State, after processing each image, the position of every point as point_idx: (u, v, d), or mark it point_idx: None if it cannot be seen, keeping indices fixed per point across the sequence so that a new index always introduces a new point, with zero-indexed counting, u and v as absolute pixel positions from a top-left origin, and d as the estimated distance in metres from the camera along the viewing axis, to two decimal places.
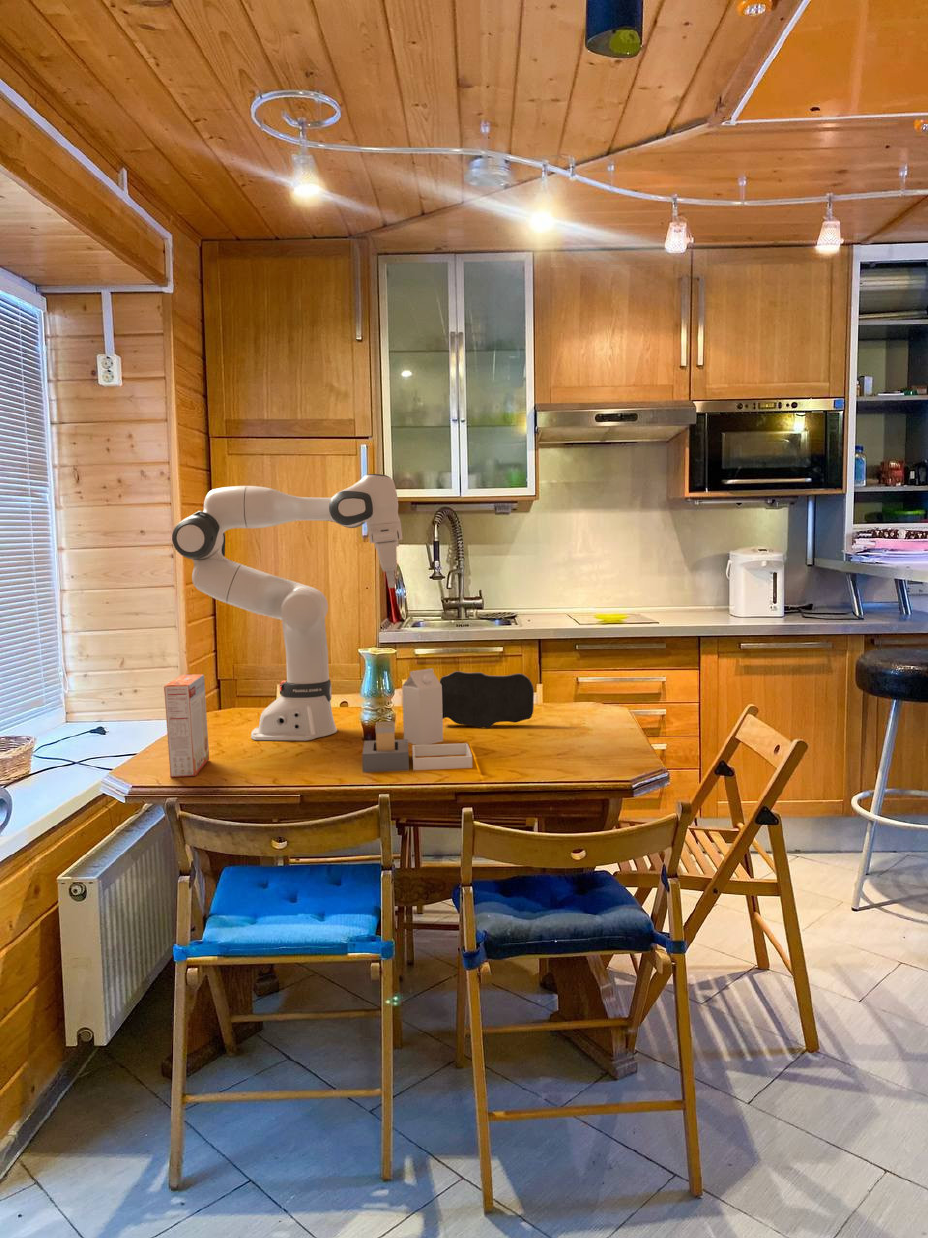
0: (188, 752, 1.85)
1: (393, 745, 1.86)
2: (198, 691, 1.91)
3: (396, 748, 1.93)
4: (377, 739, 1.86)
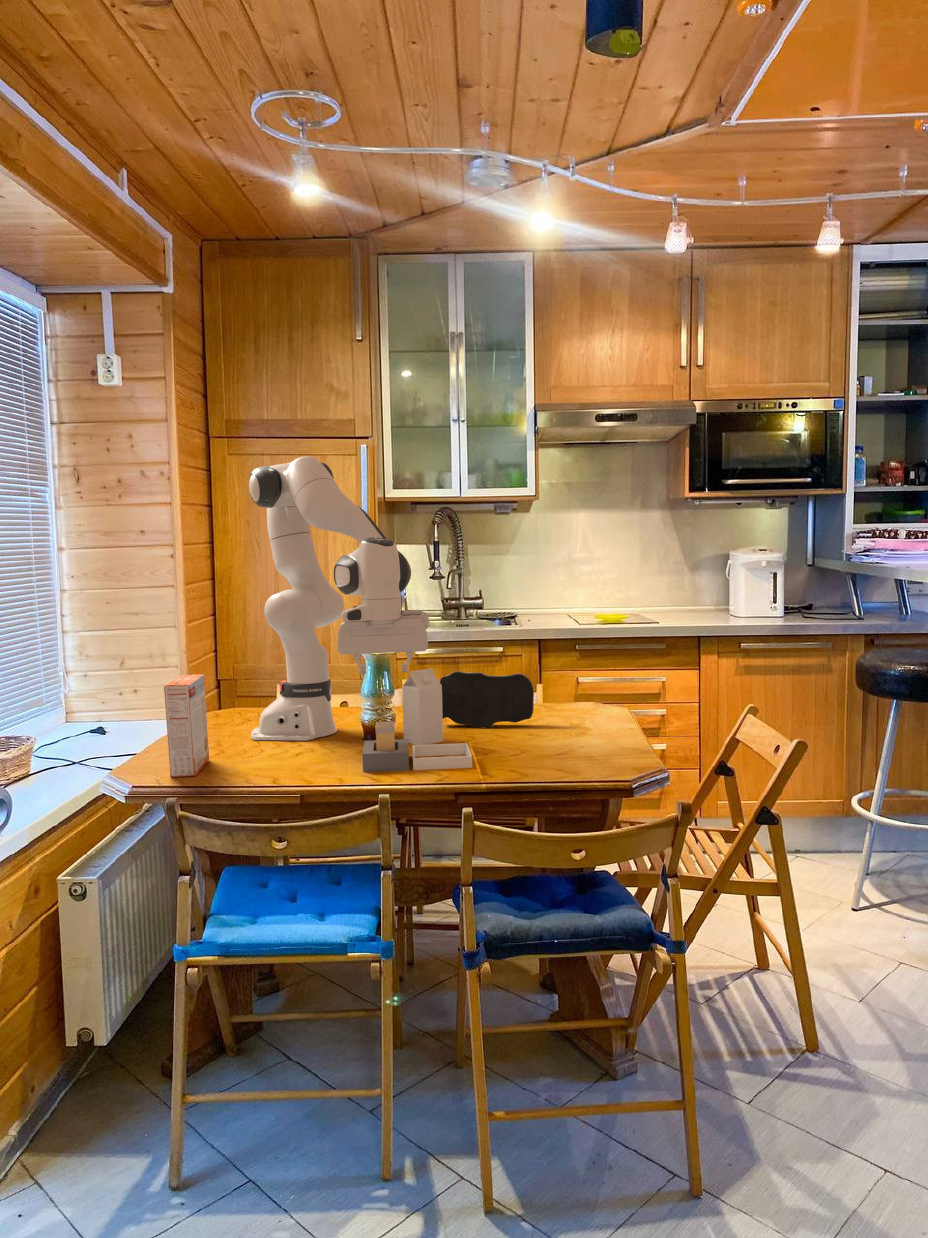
0: (188, 752, 1.85)
1: (393, 745, 1.86)
2: (198, 691, 1.91)
3: (396, 748, 1.93)
4: (377, 739, 1.86)
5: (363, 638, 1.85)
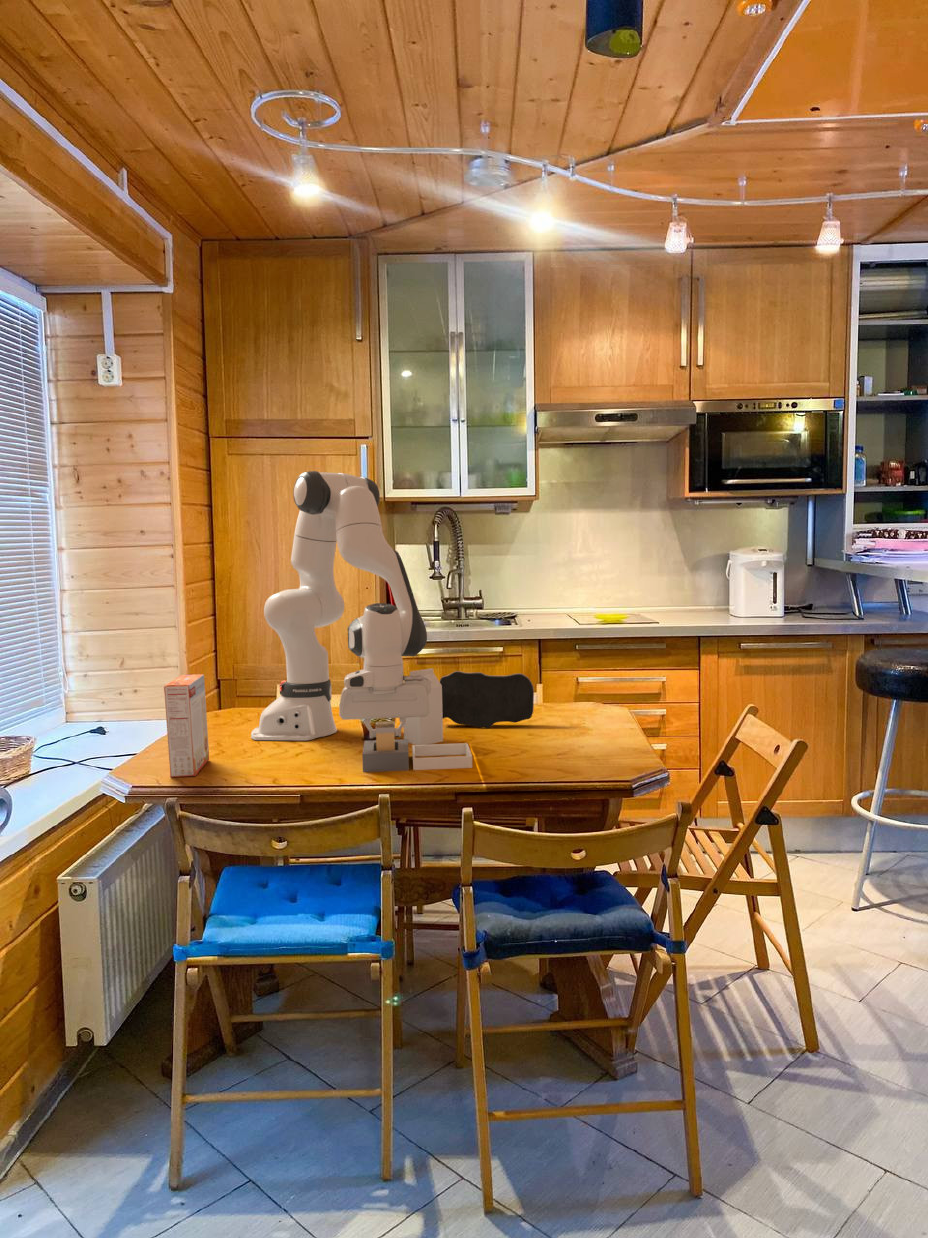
0: (188, 752, 1.85)
1: (393, 745, 1.86)
2: (198, 691, 1.91)
3: (396, 748, 1.93)
4: (377, 739, 1.86)
5: (365, 704, 1.86)
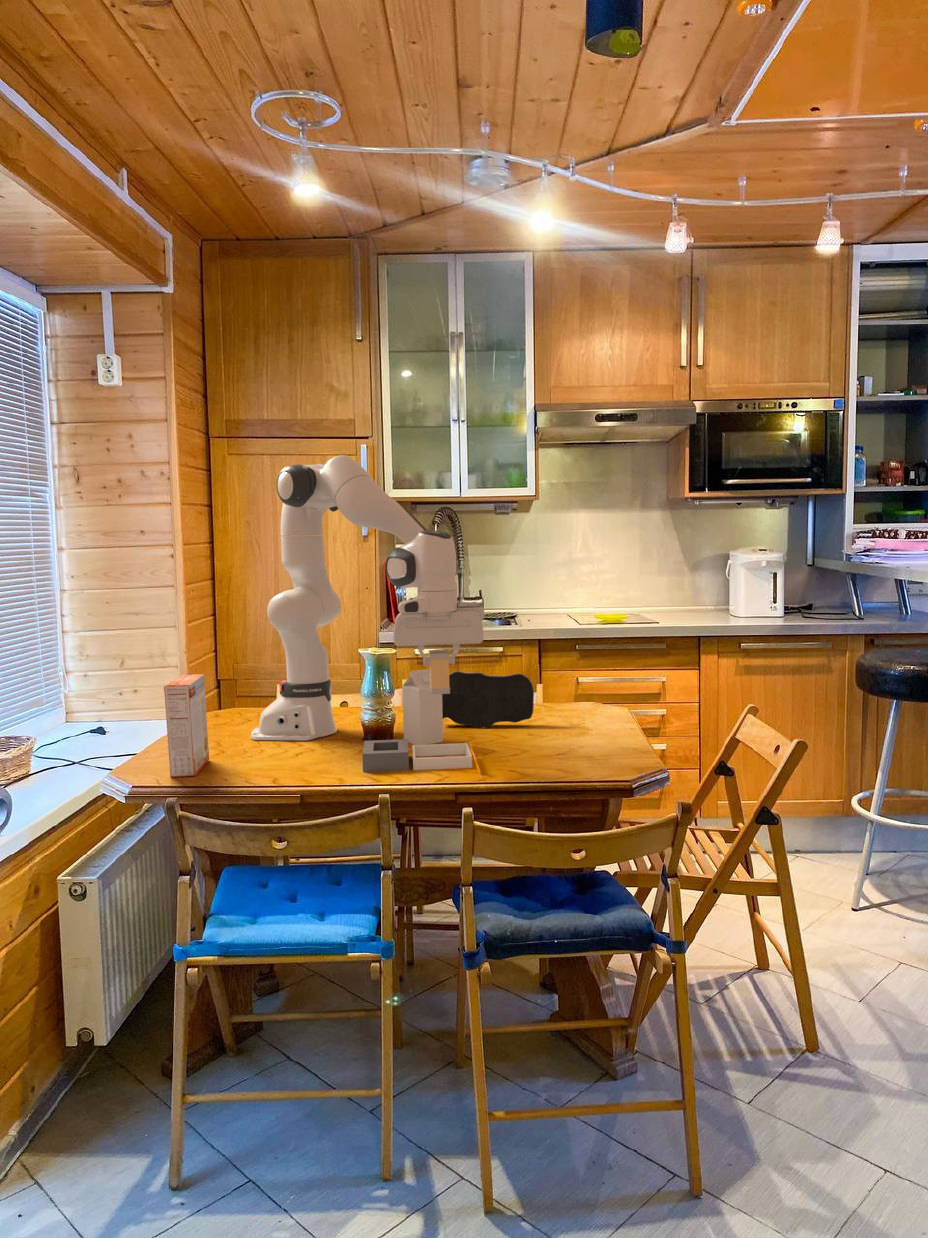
0: (188, 752, 1.85)
1: (447, 671, 1.86)
2: (198, 691, 1.91)
3: (396, 748, 1.93)
4: (432, 665, 1.85)
5: (419, 630, 1.85)
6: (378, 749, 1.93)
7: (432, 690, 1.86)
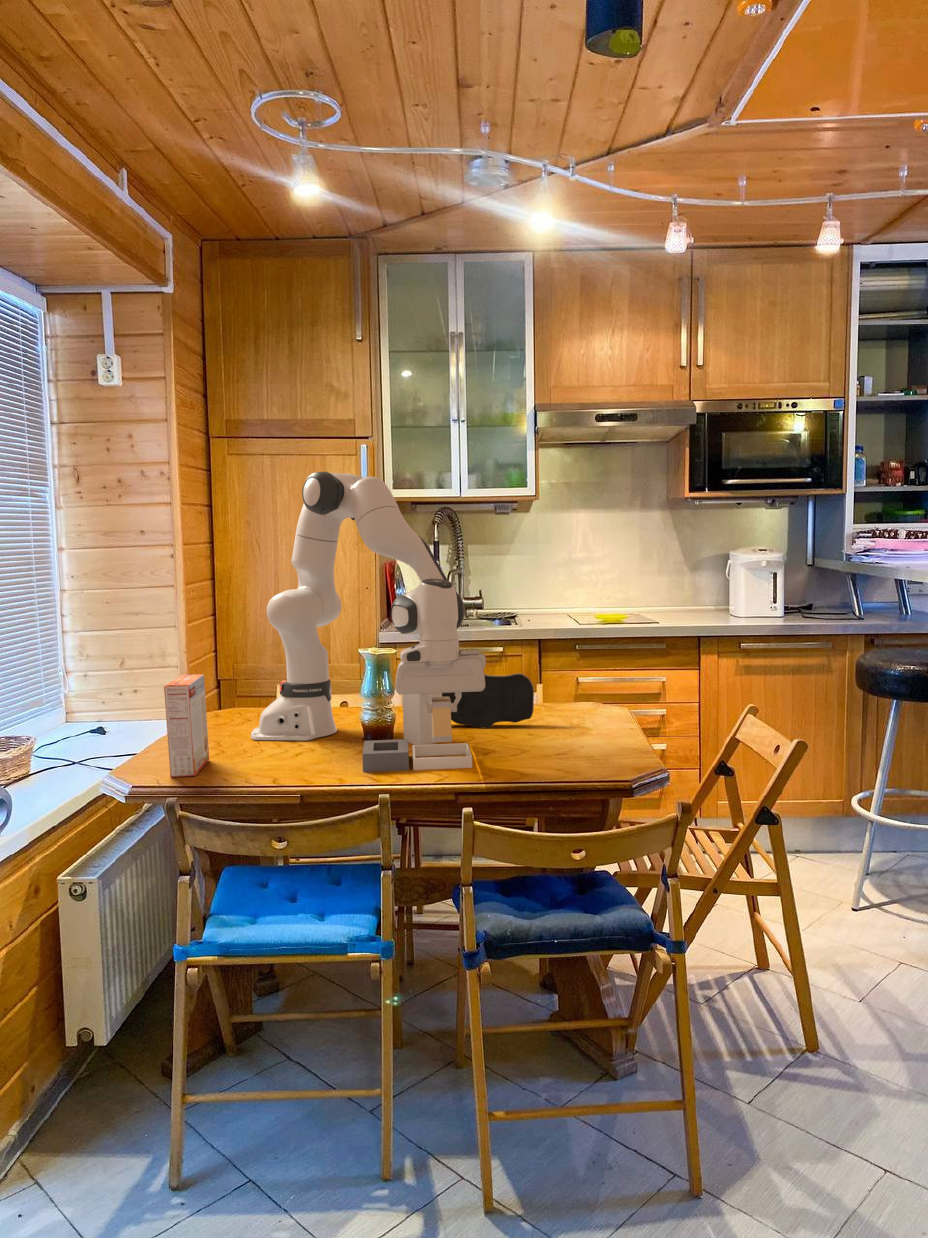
0: (188, 752, 1.85)
1: (450, 719, 1.87)
2: (198, 691, 1.91)
3: (396, 748, 1.93)
4: (434, 713, 1.86)
5: (421, 679, 1.87)
6: (378, 749, 1.93)
7: (434, 738, 1.87)
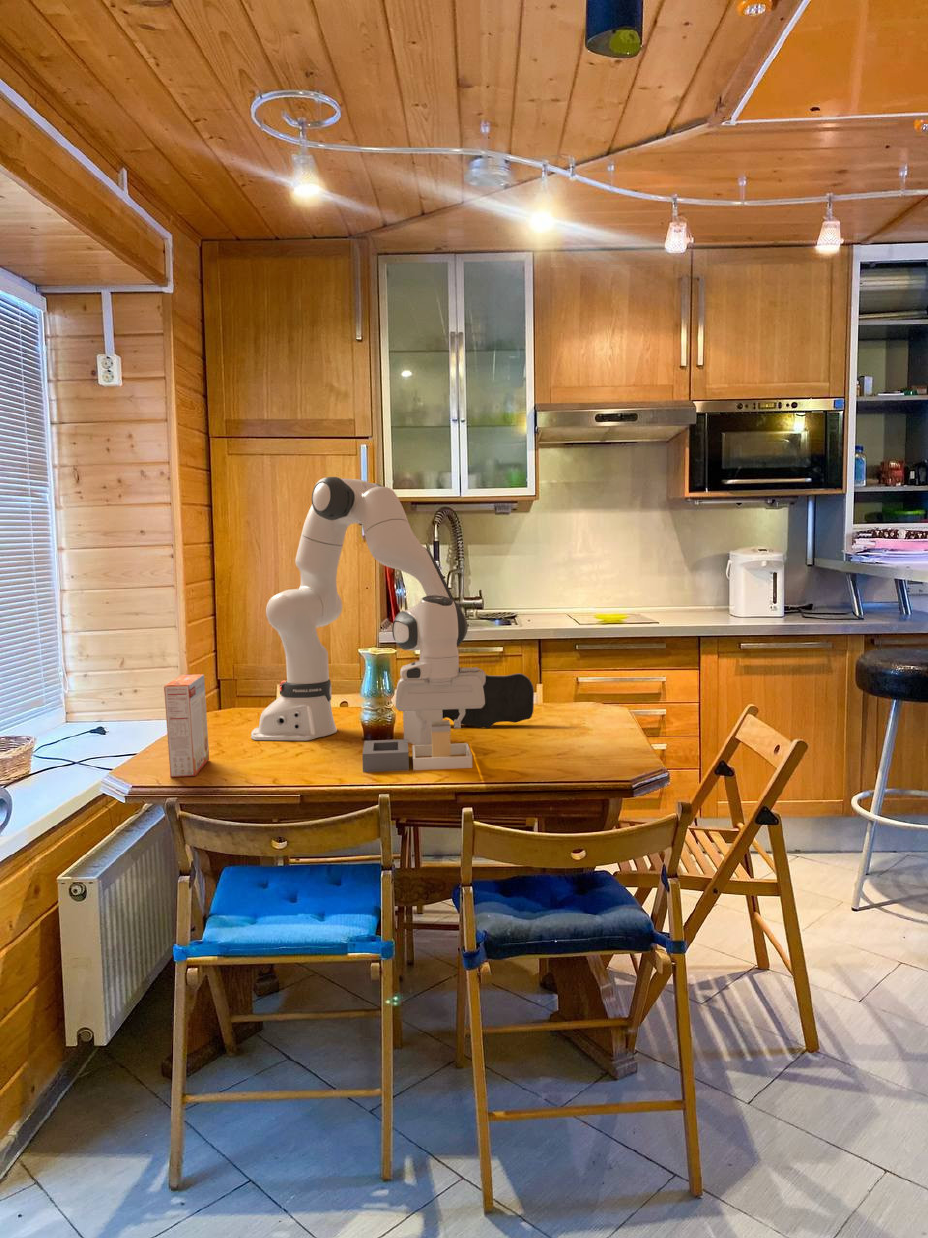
0: (188, 752, 1.85)
1: (449, 744, 1.87)
2: (198, 691, 1.91)
3: (396, 748, 1.93)
4: (433, 738, 1.87)
5: (421, 696, 1.87)
6: (378, 749, 1.93)
7: None
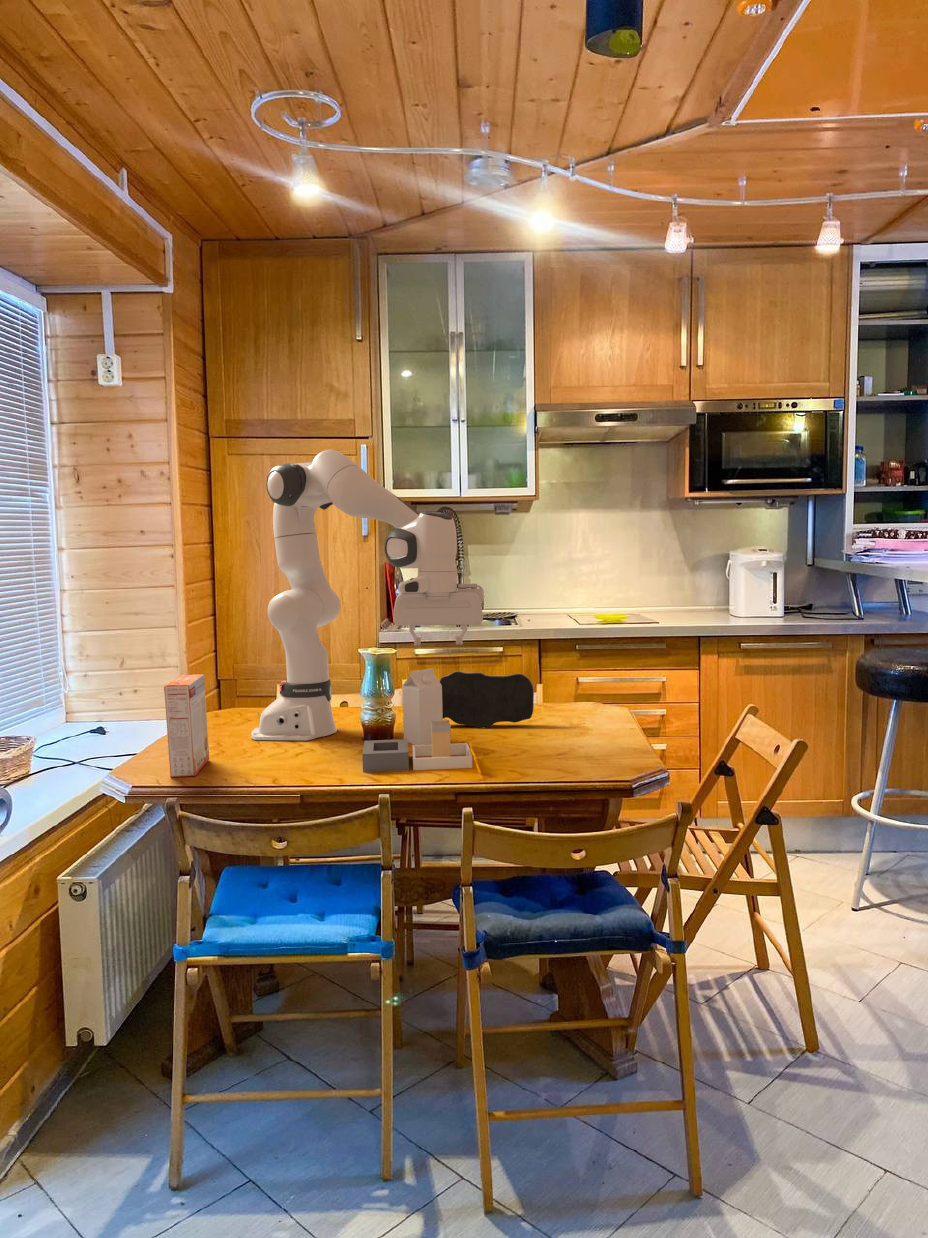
0: (188, 752, 1.85)
1: (449, 744, 1.87)
2: (198, 691, 1.91)
3: (396, 748, 1.93)
4: (433, 738, 1.87)
5: (419, 610, 1.87)
6: (378, 749, 1.93)
7: None
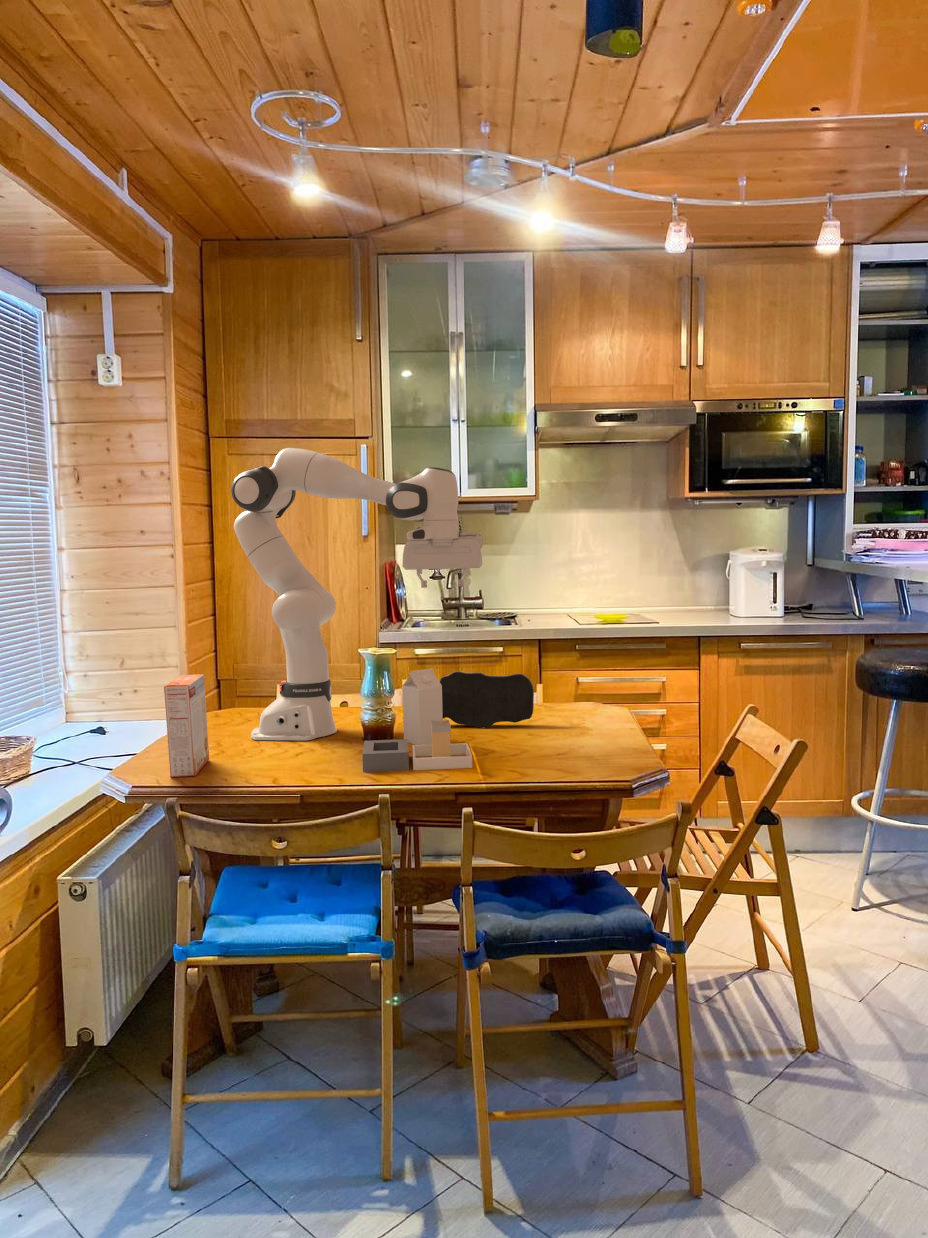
0: (188, 752, 1.85)
1: (449, 744, 1.87)
2: (198, 691, 1.91)
3: (396, 748, 1.93)
4: (433, 738, 1.87)
5: (425, 556, 2.10)
6: (378, 749, 1.93)
7: None
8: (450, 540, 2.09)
